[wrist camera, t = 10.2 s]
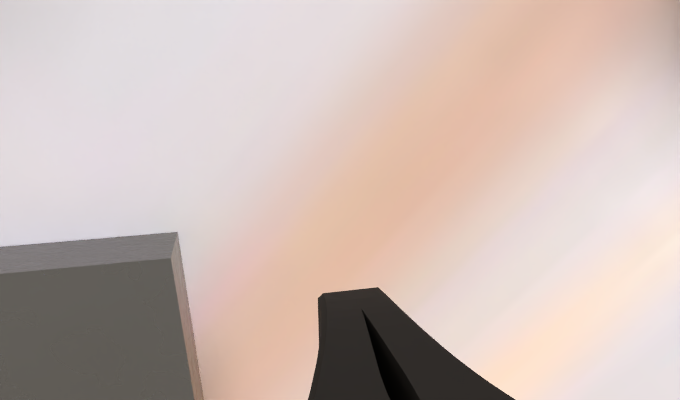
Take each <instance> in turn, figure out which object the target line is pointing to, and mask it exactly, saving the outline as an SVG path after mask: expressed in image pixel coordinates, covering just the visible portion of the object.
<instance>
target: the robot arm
mask: <svg viewBox="0 0 680 400" xmlns="http://www.w3.org/2000/svg"><path fill="white" fill-rule="evenodd" d="M318 318H319V351H318V358H317V364H316V368H315V373H314V377H313V382H312V386H311V390H310V394H309V398H308V400H515V399H513V398H512V397H510V396H509V395H507V394H506V393H504V392H503V391H501V390H500V389H498V388H497V387H495V386H494V385H492V384H491V383H489V382H488V381H486V380H485V379H484V378H482V377H481V376H479V375H478V374H477V373H475V372H474V371H473V370H471V369H470V368H469V367H467V366H466V365H465V364H463V363H462V362H461V361H460V360H458V359H457V358H456V357H454V356H453V355H452V354H451V353H449V352H448V351H447V350H446V349H445V348H443V347H442V346H441V345H440V344H439V343H438V342H437V341H435V340H434V339H433V338H432V337H431V336H430V335H428V334H427V333H426V332H425V331H424V330H423V329H422V328H421V327H419V326H418V325H417V324H416V323H415V322H414V321H413V320H412V319H411V318H410V317H409V316H408V315H407V314H405V313H404V312H403V311H402V310H401V309H400V308H399V307H398V306H397V305H396V304H395V303H394V302H393V301H392V300H391V299H390V298H389V297H388V296H387V295H386V294H385V293H384V292H383V291H381V290H380V289H379V288H378V287H377V288H368V289H359V290H350V291H341V292H332V293H323V294H322V295H321V296H320V297H319V298H318Z"/></svg>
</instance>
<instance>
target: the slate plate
mask: <svg viewBox="0 0 680 400" xmlns="http://www.w3.org/2000/svg"><path fill="white" fill-rule="evenodd" d="M0 400H204V399H203V393H202V387H201V380H200V374H199V367H198V361H197V355H196V348H195V342H194V335H193V329H192V323H191V316H190V310H189V303H188V297H187V291H186V284H185V278H184V271H183V265H182V259H181V252H180V246H179V239H178V233H177V232H174V233H163V234H151V235H139V236H127V237H115V238H103V239H91V240H79V241H67V242H56V243H44V244H32V245H20V246H8V247H0Z"/></svg>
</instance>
